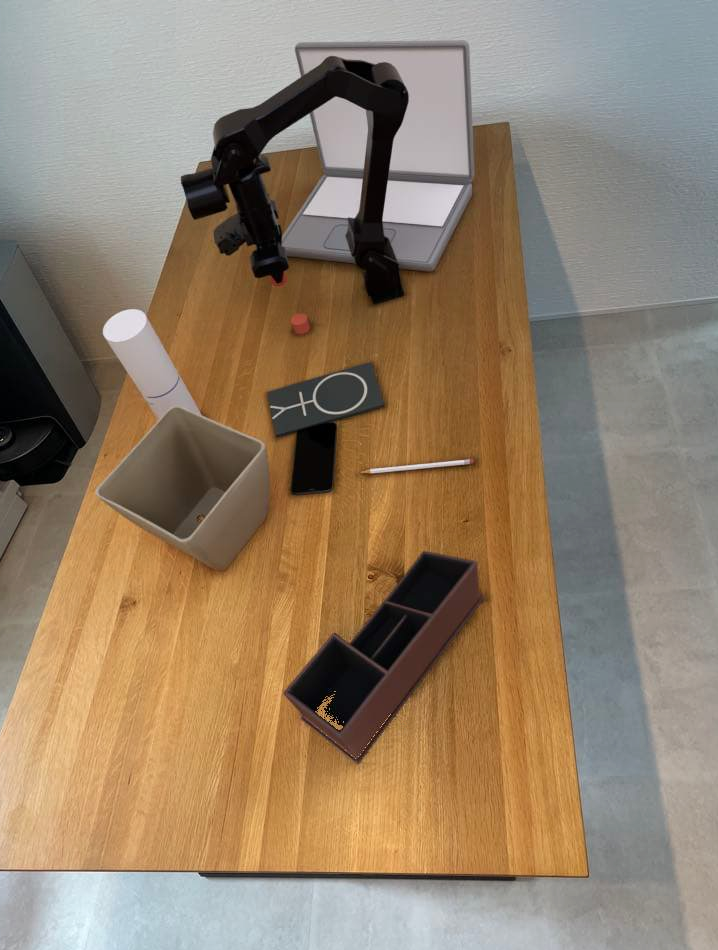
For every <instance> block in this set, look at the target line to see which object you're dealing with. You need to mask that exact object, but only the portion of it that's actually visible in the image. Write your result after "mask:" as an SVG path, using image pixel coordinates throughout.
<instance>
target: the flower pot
mask: <svg viewBox="0 0 718 950" xmlns="http://www.w3.org/2000/svg"><path fill="white" fill-rule="evenodd" d="M270 473H271V472H270V463H269V457H268V451H267V447H266V443H265V442H264V441H262V440H260V439H258V438H255V437H254V436H251V435H248V434H246V433H243V432H242V431H239V430H237V429H234V428H232V427H230V426H227V425H225V424H222V423H221V422H218V421H216V420H214V419H212V418H209V417H207V416H204V415H202V414H201V415H200V414H198V413H195V412H193V411H191V410H189V409H187V408H184V407H182V406H180V405H174V406H171V407H170V408H169V409H168V410H167V411H166V413H165V414H164V415H163V416H162V417H161V418H160V419H159V420H158V419H157V421H156V423H154V425H153V426H152V427H151V428H150V429H149V430H148V431H147V433H146V434H145V435H144V436H143V437H142V438H141V439H140V440H139V441H138V442H137V444H136V445H135V446H133V448H131V450H130V451H129V452H128V453H127V454H126V456H125V457H124V458H123V459H121V461H120V462H119V463H118V464H117V465H116V466H115V467H114V469H113V470H112V471H111V472H110V473H109V474H108V475H107V476H106V477H105V478H104V480H102V482H100V484H99V485H98V486H97V487H96V489H95V491H94V493H95V496H97V498H98V499H100V500H101V501H102V502H103V503H104V504H106V505H107V506H108V507H110V508H111V509H112V510H114V511H115V512H116V513H118V514H119V515H121V516H122V517H123V518H124V519H126V520H127V521H129V522H131V523H132V524H134V525H135V526H137V527H138V528H140V529H142V530H143V531H145V532H147V533H148V534H150V535H152V536H154V537H156V538H158V539H159V540H161V541H163V542H165V543H166V544H168V545H170V546H172V547H174V548H176V549H178V550H179V551H181V552H183V553H185V554H187V555H189V556H191V557H193V558H194V559H195V560H198V561H199V562H201V563H202V564H204V565H206V566H208V567H210V568H211V569H213V570H215V571H218V572H224V571H226V570H227V569H228V568H229V567H230V566H231V564H232V563H233V562H234V560H235V559H236V558H237V557H238V555H239V554H240V553H241V551H242V550H243V549H244V548H245V546H246V545H247V544H248V543H249V541H250V540H251V538H252V537H253V536H254V535H255V534H256V532H257V531H258V530H259V528H260V527H261V526H262V524H263V523H264V522H265V521H266V519H267V518H268V515H269V510H270V500H271V499H270V498H271V474H270ZM200 516H203V517H204V518H203V519H202V520H201V521H198V517H200Z"/></svg>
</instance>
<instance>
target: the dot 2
mask: <svg viewBox="0 0 718 950" xmlns="http://www.w3.org/2000/svg"><path fill="white" fill-rule="evenodd" d="M290 323H291V326H292V328H293V331H294V333H295V334H297V335H304V334H307V333H308V332H309V331H310V329H311V326H310V322H309V319H308V316H307V315H306V314H305V313H297V314H295V315H292V316H291V320H290Z"/></svg>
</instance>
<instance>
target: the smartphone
mask: <svg viewBox="0 0 718 950" xmlns="http://www.w3.org/2000/svg"><path fill="white" fill-rule="evenodd" d="M337 440H338V425H337V423H335V422H330V423H323V424H319V425H315V426H312V427H308V428H304V429H301V430H298V431H297V432H296V436H295V445H294V455H293V464H292V471H291V481H290V493H291V494H292V495H294V496H303V495H304V496H305V495H316V494H317V495H319V494H327V493H331V492H332V491H333V490H334V486H335V475H336V457H337V442H338V441H337Z"/></svg>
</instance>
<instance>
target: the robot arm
mask: <svg viewBox="0 0 718 950" xmlns="http://www.w3.org/2000/svg"><path fill="white" fill-rule="evenodd" d="M334 97H339V98H343V99H346V100H348V101H350V102H352V103H353V104H355V105H357V106H359V107H361V108H363V109H366V116H367V124H368V135H367V144H366V153H365V162H364V171H363V181H362V190H361V199H360V208H359V212H358V214H357V215H356V217H355V218H350V217H348V230H347V233H346V235H345V237H346V240H347V243H348V246H349V249H350V252H351V255H352V257H354V259H355V262H356V264H355V266H357V267H358V268H359V269H361V270H363V271H362V273H361V274H362V278H363V282H364V287H365V291H366V294H367V297H369V298H370V299H371V300H370V301H371V302H372V304H373V305H376V304H380V303H383V302H386V301H390V300H394V299H397V298H401V297H403V296H405V291H404V288H403V285H402V281H401V280H402V279H401V274H400V273H401V272H400V268H399V263H398V261H397V258H396V256H395V253H394V250H393V248H392V245H391V242H390V240H389V238H388V237H386V236H384V230H383V222H382V219H383V211H384V204H385V197H386V190H387V183H388V176H389V168H390V161H391V154H392V147H393V140H394V137H395V135H396V133H397V132H398V130H399V128H400V127H401V125H402V122H403V119H404V116H405V113H406V109H407V106H408V102H409V94H408V91H407V88H406V86H405V84H404V82H403V80H402V78H401V76H400V75H399V73H398V71H397V69H396V68H395V66H393V65H392V64H390V63H387V62H381V63H378V64H373V63H369V62H366V61H363V60H347V59H343V58H340V57H336V56H329V57H327V58H325V60H324V61H323V62H322V63H321V64H320V65H318V66H317V67H315V68H314V69H312V70H311V71H309V72H308V73H306V74H305V75H303V76H302V77H301V76H300V77H299V78H298V79H296V80H294V81H293V82H292V83H290V84H288V85H287V86H285V87H283V88H282V89H281V90H279V91H278V92H277V93H275V94H273V95H272V96H271V97H268V99H266V100H264V101H263V102H262V103H260V104H258V105H256V106H253V107H249V108H247V107H246V108H240V109H238V110H235V111H232V112H230V113H228V114H225V115H223V116H221V117H219V119H218V120H216V122H215V123H214V125H213V131H212V138H213V143H214V146H213V150H212V153H211V157H210V165H211V167H209V168H206V169H204V170H201V171H196V172H194V173H187V174H183V175H181V176H180V185H181V187H182V189H183V193H184V197H185V200H186V203H187V208H188V211H189V214H190V216H191V217H192V219H193V220H194V221H197V220H200V219H204V218H206V217H210V216H213V215H216V214H219V213H223V212H227V209H229V207H228V204H229V203H231V198H230V194H229V191H228V188H227V185H228V187H229V190H230V192H231V195H232V198H233V201H234V204H235V207H236V211H237V212H236V213H234V215H231V216H229V217H228V218H227V219H224V221H222V222H221V223H220V224H218V225H216V226H215V228H214V230H213V241H214V244H215V245H216V247H217V248H218V251H219V254H221V255H223V254H224V255H225V256H228V257H230V256H232V255H233V254H234V253H236V252H237V251H238V250H239V249H240V248H241V246H243V245H244V244H246V247H251V246H254V245H255V247H256V249H255V250H253V251H252V252H251V254H250V256H249V260H250V266H251V271H252V273H253V276H254V278H256V279H262V278H265V277H269V275H271V276H272V278H273V279H274V280H275V282H276V283H277V284H278V283H281V282H282V281H283V273H284V271H285V272H286V271H287V270H289V269H290V265H289V260H288V256H286V250H285V248H284V247H283V246H282V236H283V231H282V226H281V224H280V223H278V219H280V215H279V210H278V207H277V203H276V201H275V200H273V199H271V197H270V194H269V192H268V190H267V187H266V184H265V180H264V178H263V175H262V174H266V173H269V172H271V170H272V167H271V163H270V159H269V157H268V156H266V155H264V154H262V153H263V151H264V150H265V148H266V146H268V145H267V144H268V143H269V142H271V140H272V139H273V138H274V137H276V136H277V135H279V134H280V133H282V132H284V131H285V130H286V129H288V128H290V127H291V126H292V125H294V124H296V123H298V122H299V121H300V120H302V119H303V118H305V117H306V116H308V115H310V113H311V112H313V111H314V110H316V109H317V108H319V107H320V106H322V105H323V104H325V103H326V102H328V101H330V100H331V99H333V98H334Z"/></svg>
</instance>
